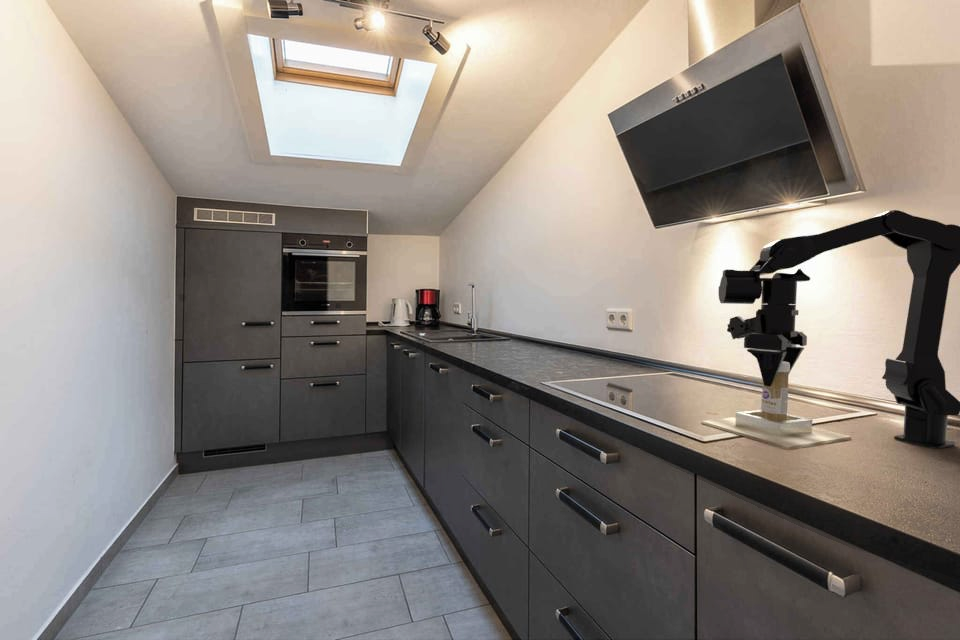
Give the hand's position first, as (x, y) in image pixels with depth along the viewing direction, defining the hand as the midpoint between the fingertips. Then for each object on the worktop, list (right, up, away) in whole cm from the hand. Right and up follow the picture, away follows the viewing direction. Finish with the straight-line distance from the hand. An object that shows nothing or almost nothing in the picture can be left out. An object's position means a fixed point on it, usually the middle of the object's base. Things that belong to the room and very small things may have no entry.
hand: (774, 383), depth 91 cm
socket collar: (0, -10, 0) cm, 10 cm away
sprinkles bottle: (0, -9, 0) cm, 9 cm away
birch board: (0, -10, 0) cm, 10 cm away
